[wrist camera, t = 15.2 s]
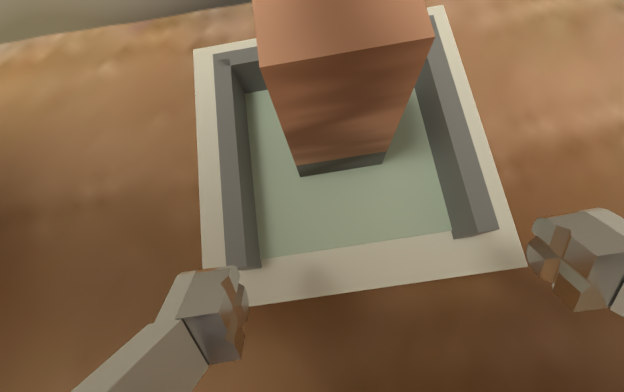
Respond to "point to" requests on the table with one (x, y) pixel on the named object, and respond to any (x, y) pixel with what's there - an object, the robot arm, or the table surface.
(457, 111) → the bay dock
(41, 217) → the table surface
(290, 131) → the block
